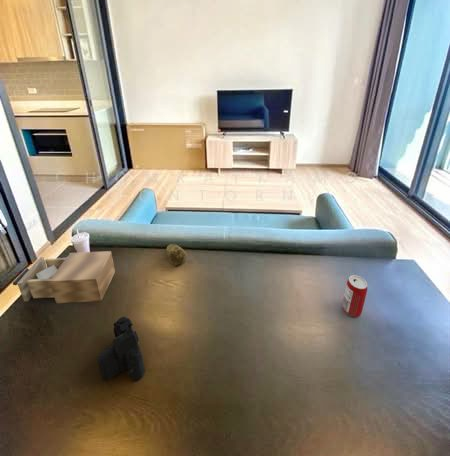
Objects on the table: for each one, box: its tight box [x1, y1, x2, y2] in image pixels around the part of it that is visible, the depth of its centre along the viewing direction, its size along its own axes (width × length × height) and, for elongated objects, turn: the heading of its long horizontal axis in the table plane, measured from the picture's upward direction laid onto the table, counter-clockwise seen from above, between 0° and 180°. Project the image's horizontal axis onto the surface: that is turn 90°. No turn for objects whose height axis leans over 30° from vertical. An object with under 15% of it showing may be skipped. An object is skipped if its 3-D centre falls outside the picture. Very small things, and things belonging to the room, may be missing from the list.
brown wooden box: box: [49, 250, 116, 304], centre depth 86 cm, size 15×13×10 cm
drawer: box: [12, 256, 67, 302], centre depth 86 cm, size 18×11×8 cm, turn 93°
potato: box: [165, 243, 188, 268], centre depth 97 cm, size 8×13×8 cm, turn 9°
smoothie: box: [70, 228, 91, 253], centre depth 99 cm, size 6×6×14 cm
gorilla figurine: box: [96, 316, 146, 383], centre depth 64 cm, size 15×10×9 cm, turn 36°
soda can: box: [341, 274, 368, 318], centre depth 77 cm, size 6×6×12 cm
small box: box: [36, 265, 58, 279], centre depth 86 cm, size 6×6×5 cm
